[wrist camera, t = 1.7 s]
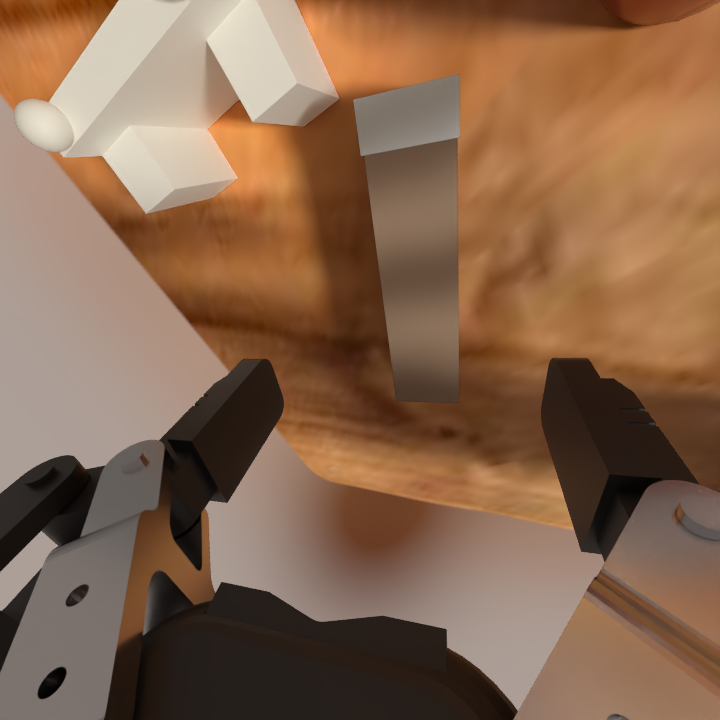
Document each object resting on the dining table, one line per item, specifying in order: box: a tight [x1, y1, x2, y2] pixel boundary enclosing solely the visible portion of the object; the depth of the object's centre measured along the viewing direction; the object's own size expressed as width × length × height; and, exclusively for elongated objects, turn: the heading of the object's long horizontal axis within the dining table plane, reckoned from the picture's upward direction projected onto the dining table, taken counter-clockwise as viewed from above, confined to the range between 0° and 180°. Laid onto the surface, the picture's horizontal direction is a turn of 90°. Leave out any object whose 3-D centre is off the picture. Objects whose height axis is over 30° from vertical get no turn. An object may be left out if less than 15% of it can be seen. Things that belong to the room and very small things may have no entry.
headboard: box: [14, 0, 340, 214], centre depth 15 cm, size 5×10×10 cm, turn 119°
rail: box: [353, 74, 460, 403], centre depth 19 cm, size 16×4×5 cm, turn 9°
